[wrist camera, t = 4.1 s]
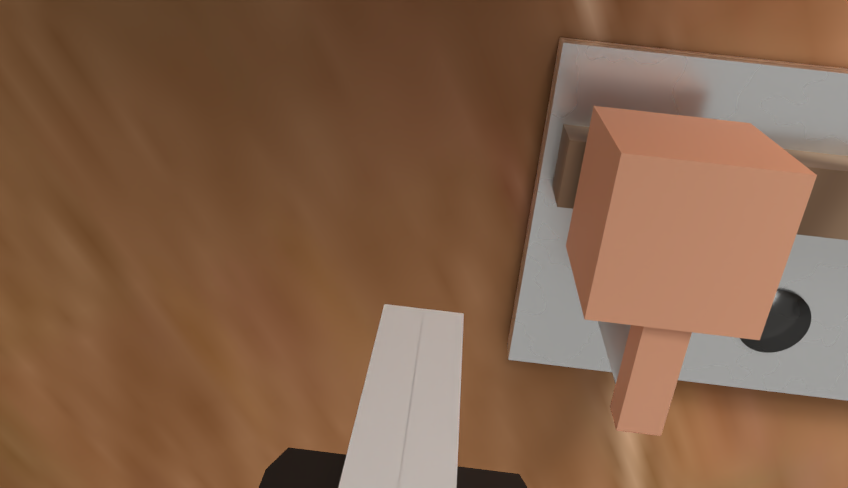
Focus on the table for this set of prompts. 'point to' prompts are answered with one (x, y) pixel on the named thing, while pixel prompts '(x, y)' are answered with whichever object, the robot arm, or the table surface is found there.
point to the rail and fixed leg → (836, 174)
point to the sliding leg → (677, 243)
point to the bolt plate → (715, 99)
